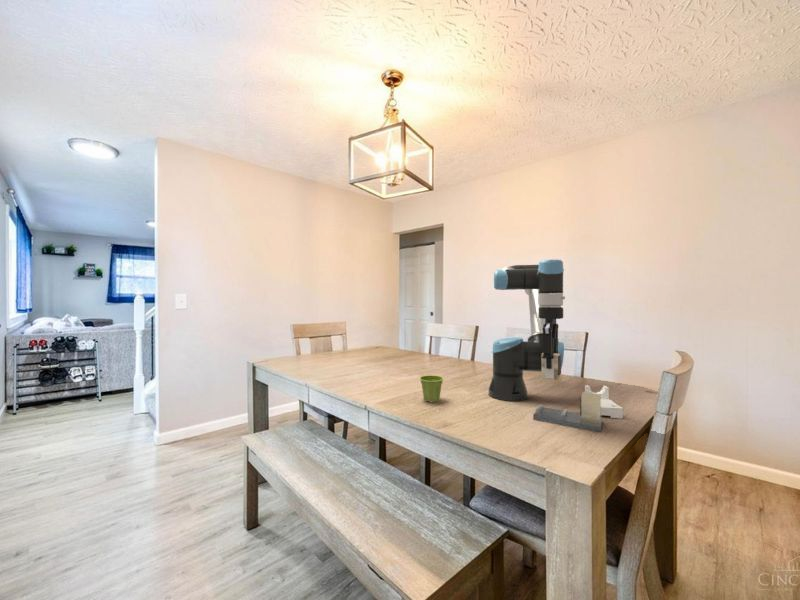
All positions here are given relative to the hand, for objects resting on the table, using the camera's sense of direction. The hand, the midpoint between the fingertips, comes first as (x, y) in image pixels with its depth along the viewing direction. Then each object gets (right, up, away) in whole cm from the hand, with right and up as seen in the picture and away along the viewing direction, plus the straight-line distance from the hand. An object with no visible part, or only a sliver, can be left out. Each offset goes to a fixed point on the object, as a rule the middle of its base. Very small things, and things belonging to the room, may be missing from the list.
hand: (550, 376), depth 113 cm
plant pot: (-38, -14, +20) cm, 45 cm away
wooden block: (0, 0, 0) cm, 0 cm away
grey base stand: (+4, -14, -3) cm, 15 cm away
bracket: (+21, -14, +6) cm, 26 cm away
